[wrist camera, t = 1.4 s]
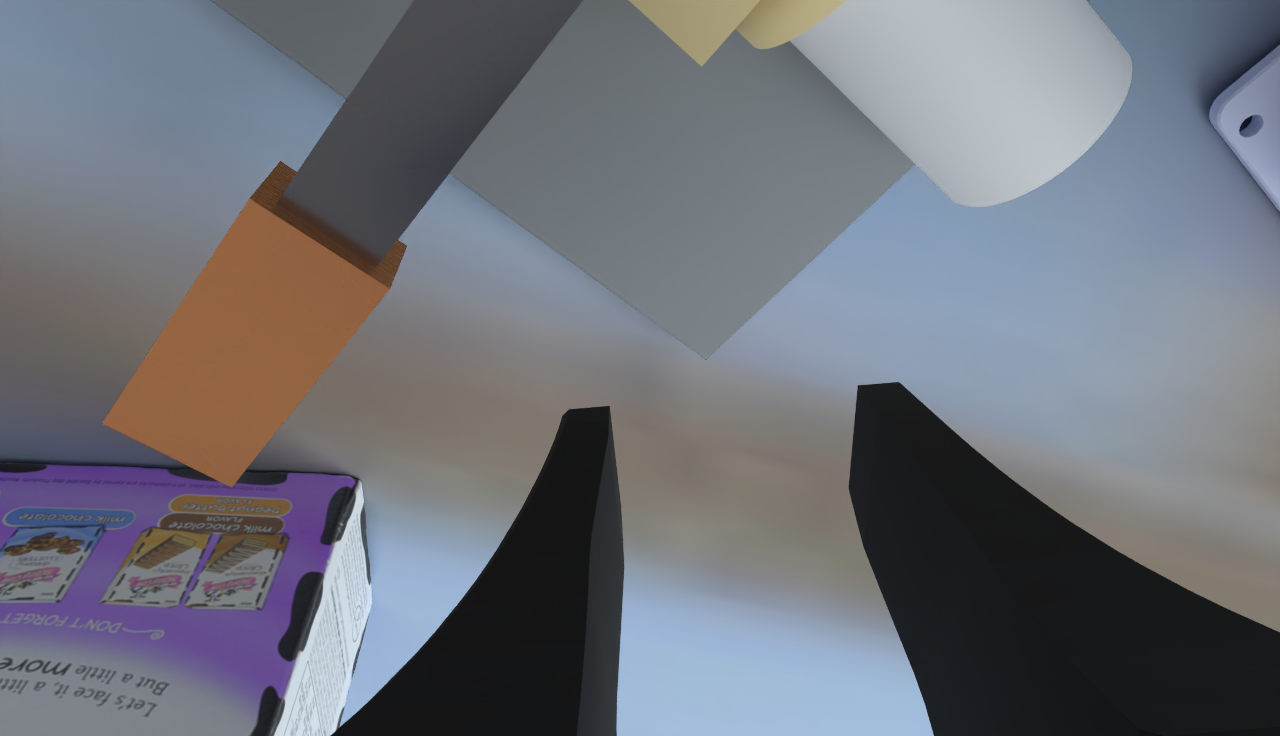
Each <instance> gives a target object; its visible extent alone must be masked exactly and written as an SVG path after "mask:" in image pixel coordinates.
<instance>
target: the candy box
mask: <svg viewBox="0 0 1280 736" xmlns="http://www.w3.org/2000/svg"><path fill="white" fill-rule="evenodd" d="M371 606H372V593H371V577H370V564H369V557H368V548H367V537H366V518H365V509H364V498H363V491H362V482H361V481H360V480H357V479H353V478H352V477H350V476H345V475H328V474H316V473H284V472H272V473H253V472H244V473H243V474H242V475H241V477H240V478H239V479H238V480H237V482H236V483H235V484H234V485H233V487H230V486H228V485H226V484H223V483H221V482H219V481H217V480H215V479H213V478H211V477H209V476H207V475H205V474H203V473H201V472H199V471H197V470H195V469H159V468H140V467H117V466H68V465H48V464H28V463H0V736H330V735H332V734H333V733H334V732H335V731H336V730H337V729H338V728H339V726H340V722H341V717H342V714H343V711H344V707H345V703H346V700H347V696H348V692H349V688H350V684H351V680H352V677H353V673H354V670H355V667H356V663H357V659H358V655H359V652H360V648H361V644H362V640H363V636H364V633H365V629H366V625H367V621H368V617H369V614H370V610H371Z"/></svg>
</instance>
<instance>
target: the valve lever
mask: <svg viewBox="0 0 1280 736" xmlns="http://www.w3.org/2000/svg"><path fill="white" fill-rule="evenodd" d="M582 1H583V0H414V1H413V2H412V3H411V5H410V6H409V8H408V9H407V11H406V12H405V14H404V15H403V17H402V18H401V20H400V21H399V23H398V24H397V26H396V27H395V29H394V30H393V32H392V33H391V35H390V36H389V37H388V39H387V40H386V42H385V43H384V45H383V46H382V48H381V49H380V51H379V52H378V54H377V55H376V57H375V58H374V60H373V61H372V63H371V64H370V66H369V67H368V69H367V70H366V71H365V73H364V74H363V76H362V77H361V79H360V80H359V82H358V83H357V85H356V86H355V88H354V89H353V91H352V92H351V94H350V95H349V97H348V98H347V100H346V101H345V103H344V104H343V105H342V107H341V108H340V110H339V111H338V113H337V114H336V116H335V117H334V119H333V120H332V122H331V123H330V125H329V126H328V128H327V129H326V131H325V132H324V134H323V135H322V137H321V138H320V139H319V141H318V142H317V144H316V145H315V147H314V148H313V150H312V151H311V153H310V154H309V156H308V157H307V159H306V160H305V162H304V163H303V165H302V166H301V168H300V169H299V171H298V172H296V171H294V170H293V169H291V168H290V167H288V166H287V165H285V164H284V163H282V162H281V161H280V162H279V163H278V165H277V166H276V167H275V168H274V170H273V171H272V172H271V173H270V174H269V176H268V177H267V178H266V179H265V181H264V182H263V183H262V184H261V185H260V187H259V188H258V189H257V190H256V192H255V193H254V194H253V195H252V196H251V198H250V199H249V200H248V202H247V203H246V205H245V207H244V208H243V210H242V211H241V213H240V214H239V216H238V217H237V219H236V220H235V222H234V223H233V225H232V226H231V228H230V229H229V231H228V232H227V234H226V235H225V237H224V238H223V240H222V242H221V243H220V245H219V246H218V248H217V249H216V251H215V252H214V254H213V255H212V257H211V258H210V260H209V261H208V263H207V264H206V266H205V267H204V269H203V270H202V272H201V273H200V275H199V277H198V278H197V280H196V281H195V283H194V284H193V286H192V287H191V289H190V290H189V292H188V293H187V295H186V296H185V298H184V299H183V301H182V302H181V304H180V305H179V307H178V308H177V310H176V312H175V313H174V315H173V316H172V318H171V319H170V321H169V322H168V324H167V325H166V327H165V328H164V330H163V331H162V333H161V334H160V336H159V337H158V339H157V340H156V342H155V343H154V345H153V347H152V348H151V350H150V351H149V353H148V354H147V356H146V357H145V359H144V360H143V362H142V363H141V365H140V366H139V368H138V369H137V371H136V372H135V374H134V375H133V377H132V378H131V380H130V382H129V383H128V385H127V386H126V388H125V389H124V391H123V392H122V394H121V395H120V397H119V398H118V400H117V401H116V403H115V404H114V406H113V407H112V409H111V410H110V412H109V413H108V415H107V417H106V418H105V420H104V421H103V423H102V424H104V425H106V426H108V427H110V428H112V429H114V430H116V431H118V432H121V433H123V434H125V435H127V436H129V437H131V438H133V439H135V440H137V441H139V442H141V443H143V444H145V445H147V446H149V447H151V448H153V449H155V450H157V451H159V452H161V453H163V454H165V455H167V456H169V457H171V458H173V459H175V460H177V461H179V462H181V463H183V464H185V465H187V466H189V467H191V468H193V469H195V470H197V471H199V472H201V473H203V474H205V475H207V476H209V477H211V478H213V479H215V480H217V481H219V482H221V483H223V484H226V485H228V486H230V487H233V485H234V484H235V483H236V482H237V480H238V479H239V478H240V477H241V475H242V474H243V473H244V472H245V470H246V469H247V468H248V467H249V465H250V464H251V463H252V461H253V460H254V459H255V458H256V456H257V455H258V454H259V453H260V451H261V450H262V449H263V448H264V446H265V445H266V444H267V443H268V441H269V440H270V439H271V438H272V436H273V435H274V434H275V433H276V431H277V430H278V429H279V428H280V426H281V425H282V424H283V423H284V421H285V420H286V419H287V417H288V416H289V415H290V414H291V412H292V411H293V410H294V409H295V407H296V406H297V405H298V404H299V402H300V401H301V400H302V399H303V397H304V396H305V395H306V394H307V392H308V391H309V390H310V389H311V387H312V386H313V385H314V384H315V382H316V381H317V380H318V379H319V377H320V376H321V375H322V373H323V372H324V371H325V370H326V368H327V367H328V366H329V365H330V363H331V362H332V361H333V360H334V358H335V357H336V356H337V355H338V353H339V352H340V351H341V350H342V348H343V347H344V346H345V345H346V343H347V342H348V341H349V340H350V338H351V337H352V336H353V334H354V333H355V332H356V331H357V329H358V328H359V327H360V326H361V324H362V323H363V322H364V321H365V319H366V318H367V317H368V316H369V314H370V313H371V312H372V311H373V309H374V308H375V307H376V306H377V304H378V303H379V302H380V301H381V299H382V298H383V297H384V296H385V294H386V293H387V292H388V290H389V289H390V287H391V285H392V282H393V280H394V277H395V275H396V272H397V270H398V267H399V265H400V262H401V260H402V257H403V255H404V252H405V250H406V247H407V246H406V245H405V244H403V243H402V242H400V241H399V240H398V239H399V237H400V236H401V235H402V234H403V232H404V231H405V230H406V228H407V227H408V226H409V225H410V223H411V222H412V221H413V219H414V218H415V217H416V216H417V214H418V213H419V212H420V210H421V209H422V208H423V206H424V205H425V204H426V203H427V201H428V200H429V199H430V197H431V196H432V195H433V194H434V192H435V191H436V190H437V188H438V187H439V186H440V185H441V183H442V182H443V181H444V179H445V178H446V177H447V175H448V174H449V173H450V172H451V170H452V169H453V168H454V166H455V165H456V164H457V163H458V161H459V160H460V159H461V157H462V156H463V155H464V154H465V152H466V151H467V150H468V148H469V147H470V146H471V144H472V143H473V142H474V141H475V139H476V138H477V137H478V135H479V134H480V133H481V132H482V130H483V129H484V128H485V126H486V125H487V124H488V123H489V121H490V120H491V119H492V117H493V116H494V115H495V113H496V112H497V111H498V110H499V108H500V107H501V106H502V104H503V103H504V102H505V101H506V99H507V98H508V97H509V95H510V94H511V93H512V92H513V90H514V89H515V88H516V86H517V85H518V84H519V83H520V81H521V80H522V79H523V77H524V76H525V75H526V73H527V72H528V71H529V70H530V68H531V67H532V66H533V64H534V63H535V62H536V61H537V59H538V58H539V57H540V55H541V54H542V53H543V52H544V50H545V49H546V48H547V46H548V45H549V44H550V42H551V41H552V40H553V39H554V37H555V36H556V35H557V33H558V32H559V31H560V30H561V28H562V27H563V26H564V24H565V23H566V22H567V21H568V19H569V18H570V17H571V15H572V14H573V13H574V11H575V10H576V9H577V8H578V6H579V5H580V4H581V2H582Z"/></svg>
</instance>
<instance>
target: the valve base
mask: <svg viewBox="0 0 1280 736" xmlns="http://www.w3.org/2000/svg"><path fill="white" fill-rule="evenodd" d="M211 1H212V2H213V3H215V4H216V5H218V6H219V7H220V8H222V9H223V10H224V11H226V12H227V13H229V14H230V15H231V16H233V17H234V18H235V19H237V20H238V21H240V22H241V23H242V24H244V25H245V26H246V27H248V28H249V29H251V30H252V31H253V32H255V33H256V34H257V35H259V36H260V37H262V38H263V39H264V40H266V41H267V42H268V43H270V44H271V45H273V46H274V47H275V48H277V49H278V50H280V51H281V52H282V53H284V54H285V55H286V56H288V57H289V58H291V59H292V60H293V61H295V62H296V63H297V64H299V65H300V66H302V67H303V68H304V69H306V70H307V71H308V72H310V73H311V74H313V75H314V76H315V77H317V78H318V79H319V80H321V81H322V82H324V83H325V84H326V85H328V86H329V87H330V88H332V89H333V90H335V91H336V92H337V93H339V94H340V95H341V96H343V97H344V98H346V99H347V98H348V97H349V95H350V94H351V92H352V91H353V89H354V88H355V86H356V85H357V83H358V82H359V80H360V79H361V77H362V76H363V74H364V73H365V71H366V70H367V69H368V67H369V66H370V64H371V63H372V61H373V60H374V58H375V57H376V55H377V54H378V52H379V51H380V49H381V48H382V46H383V45H384V43H385V42H386V40H387V39H388V37H389V36H390V35H391V33H392V32H393V30H394V29H395V27H396V26H397V24H398V23H399V21H400V20H401V18H402V17H403V15H404V14H405V12H406V11H407V9H408V8H409V6H410V5H411V3H412V2H413V1H414V0H211ZM1089 1H1090V0H583V1H582V2H581V4H580V5H579V6H578V8H577V9H576V10H575V11H574V13H573V14H572V15H571V17H570V18H569V19H568V21H567V22H566V23H565V24H564V26H563V27H562V28H561V30H560V31H559V32H558V33H557V35H556V36H555V37H554V39H553V40H552V41H551V42H550V44H549V45H548V46H547V48H546V49H545V50H544V52H543V53H542V54H541V55H540V57H539V58H538V59H537V61H536V62H535V63H534V64H533V66H532V67H531V68H530V70H529V71H528V72H527V73H526V75H525V76H524V77H523V79H522V80H521V81H520V83H519V84H518V85H517V86H516V88H515V89H514V90H513V92H512V93H511V94H510V95H509V97H508V98H507V99H506V101H505V102H504V103H503V104H502V106H501V107H500V108H499V110H498V111H497V112H496V113H495V115H494V116H493V117H492V119H491V120H490V121H489V123H488V124H487V125H486V126H485V128H484V129H483V130H482V132H481V133H480V134H479V135H478V137H477V138H476V139H475V141H474V142H473V143H472V144H471V146H470V147H469V148H468V150H467V151H466V152H465V154H464V155H463V156H462V157H461V159H460V160H459V161H458V163H457V164H456V165H455V166H454V168H453V169H452V170H451V172H450V173H449V174H450V175H452V176H453V177H454V178H456V179H457V180H459V181H460V182H461V183H463V184H464V185H465V186H467V187H468V188H470V189H471V190H472V191H474V192H475V193H477V194H478V195H479V196H481V197H482V198H483V199H485V200H486V201H488V202H489V203H490V204H492V205H493V206H494V207H496V208H497V209H499V210H500V211H501V212H503V213H504V214H505V215H507V216H508V217H510V218H511V219H512V220H514V221H515V222H516V223H518V224H519V225H521V226H522V227H523V228H525V229H526V230H527V231H529V232H530V233H532V234H533V235H534V236H536V237H537V238H539V239H540V240H541V241H543V242H544V243H545V244H547V245H548V246H550V247H551V248H552V249H554V250H555V251H556V252H558V253H559V254H561V255H562V256H563V257H565V258H566V259H567V260H569V261H570V262H572V263H573V264H574V265H576V266H577V267H578V268H580V269H581V270H583V271H584V272H585V273H587V274H588V275H589V276H591V277H592V278H594V279H595V280H596V281H598V282H599V283H600V284H602V285H603V286H605V287H606V288H607V289H609V290H610V291H612V292H613V293H614V294H616V295H617V296H618V297H620V298H621V299H623V300H624V301H625V302H627V303H628V304H629V305H631V306H632V307H634V308H635V309H636V310H638V311H639V312H640V313H642V314H643V315H645V316H646V317H647V318H649V319H650V320H651V321H653V322H654V323H656V324H657V325H658V326H660V327H661V328H662V329H664V330H665V331H667V332H668V333H669V334H671V335H672V336H674V337H675V338H676V339H678V340H679V341H680V342H682V343H683V344H685V345H686V346H687V347H689V348H690V349H691V350H693V351H694V352H696V353H697V354H698V355H700V356H701V357H702V358H704V359H705V360H707V359H708V358H709V357H710V356H711V355H712V354H713V353H714V352H715V351H716V350H717V349H718V348H719V347H720V346H721V345H723V344H724V343H725V342H726V341H727V340H728V339H729V338H730V337H731V336H732V335H733V334H734V333H735V332H736V331H737V330H739V329H740V328H741V327H742V326H743V325H744V324H745V323H746V322H747V321H748V320H749V319H750V318H751V317H752V316H753V315H755V314H756V313H757V312H758V311H759V310H760V309H761V308H762V307H763V306H764V305H765V304H766V303H767V302H768V301H769V300H771V299H772V298H773V297H774V296H775V295H776V294H777V293H778V292H779V291H780V290H781V289H782V288H783V287H784V286H785V285H787V284H788V283H789V282H790V281H791V280H792V279H793V278H794V277H795V276H796V275H797V274H798V273H799V272H800V271H801V270H803V269H804V268H805V267H806V266H807V265H808V264H809V263H810V262H811V261H812V260H813V259H814V258H815V257H816V256H818V255H819V254H820V253H821V252H822V251H823V250H824V249H825V248H826V247H827V246H828V245H829V244H830V243H831V242H832V241H834V240H835V239H836V238H837V237H838V236H839V235H840V234H841V233H842V232H843V231H844V230H845V229H846V228H847V227H848V226H850V225H851V224H852V223H853V222H854V221H855V220H856V219H857V218H858V217H859V216H860V215H861V214H862V213H863V212H864V211H866V210H867V209H868V208H869V207H870V206H871V205H872V204H873V203H874V202H875V201H876V200H877V199H878V198H879V197H880V196H882V195H883V194H884V193H885V192H886V191H887V190H888V189H889V188H890V187H891V186H892V185H893V184H894V183H895V182H896V181H898V180H899V179H900V178H901V177H902V176H903V175H904V174H905V173H906V172H907V171H908V170H909V169H910V168H911V167H912V166H914V165H915V164H916V165H917V166H918V167H919V168H920V169H921V170H922V171H923V172H924V173H925V174H926V175H927V176H928V177H929V178H930V179H931V180H932V181H933V182H934V183H935V184H936V185H937V186H938V187H939V188H940V189H941V190H942V191H943V192H944V193H945V194H946V195H947V196H948V197H949V198H950V199H951V200H953V201H954V202H956V203H958V204H960V205H964V206H967V207H986V206H991V205H996V204H1000V203H1003V202H1007V201H1010V200H1012V199H1015V198H1017V197H1020V196H1022V195H1024V194H1026V193H1028V192H1030V191H1032V190H1034V189H1036V188H1038V187H1039V186H1041V185H1043V184H1044V183H1046V182H1048V181H1049V180H1051V179H1052V178H1054V177H1055V176H1057V175H1058V174H1059V173H1061V172H1062V171H1064V170H1065V169H1066V168H1067V167H1069V166H1070V165H1071V164H1072V163H1074V162H1075V161H1076V160H1077V159H1078V158H1079V157H1080V156H1081V155H1083V154H1084V153H1085V152H1086V151H1087V150H1088V149H1089V148H1090V147H1091V146H1092V145H1093V144H1094V143H1095V142H1096V141H1097V140H1098V138H1099V137H1100V136H1101V135H1102V134H1103V132H1104V131H1105V130H1106V129H1107V128H1108V126H1109V125H1110V123H1111V122H1112V121H1113V119H1114V118H1115V116H1116V115H1117V113H1118V111H1119V110H1120V108H1121V106H1122V104H1123V103H1124V100H1125V98H1126V96H1127V93H1128V91H1129V88H1130V84H1131V81H1132V72H1133V67H1132V60H1131V58H1130V55H1129V53H1128V52H1127V51H1126V50H1125V48H1124V47H1123V46H1122V44H1121V43H1120V42H1119V41H1118V39H1117V38H1116V37H1115V36H1114V34H1113V33H1112V32H1111V31H1110V29H1109V28H1108V27H1107V26H1106V24H1105V23H1104V22H1103V21H1102V19H1101V18H1100V17H1099V16H1098V14H1097V13H1096V12H1095V10H1094V9H1093V8H1092V7H1091V5H1090V4H1089V3H1088V2H1089Z"/></svg>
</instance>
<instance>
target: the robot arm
mask: <svg viewBox="0 0 1280 736" xmlns="http://www.w3.org/2000/svg"><path fill="white" fill-rule="evenodd" d="M1250 116H1253V117H1252V120H1251V123H1250V124H1249V125H1248V126H1247V127H1246V128H1245V129H1243V130H1241V131H1239V129H1240V126H1241V124H1242V122H1243V121H1244V120H1245V119H1246V118H1248V117H1250ZM1209 119H1210V121H1211V124H1212V125H1213V126H1214V128H1215V129H1216V130H1217V131H1218V133H1219V134H1220V135H1221V137H1222V138H1223V139H1224V141H1225V142H1226V143H1227V144H1228V146H1229V147H1230V148H1231V150H1232V151H1233V152H1234V153H1235V155H1236V156H1237V157H1238V159H1239V160H1240V161H1241V162H1242V164H1243V165H1244V166H1245V168H1246V169H1247V170H1248V172H1249V173H1250V174H1251V175H1252V177H1253V178H1254V179H1255V181H1256V182H1257V183H1258V184H1259V186H1260V187H1261V188H1262V190H1263V191H1264V192H1265V193H1266V195H1267V196H1268V197H1269V199H1270V200H1271V201H1272V203H1273V204H1274V205H1275V206H1276V208H1277V209H1278V210H1279V212H1280V45H1279V46H1278V47H1276V48H1275V49H1274V50H1273V51H1272V52H1270V53H1269V54H1268V55H1267V56H1266V57H1264V58H1263V59H1262V60H1261V61H1259V62H1258V63H1257V64H1256V65H1255V66H1253V67H1252V68H1251V69H1250V70H1249V71H1247V72H1246V73H1245V74H1244V75H1243V76H1241V77H1240V78H1239V79H1238V80H1237V81H1235V82H1234V83H1233V84H1232V85H1230V86H1229V87H1228V88H1227V89H1226V90H1224V91H1223V92H1222V93H1221V94H1220V95H1219V96H1218V97H1217V98H1216V99H1215V100H1214V102H1213V104H1212V106H1211V108H1210V113H1209ZM849 491H850V495H851V500H852V504H853V508H854V512H855V516H856V520H857V524H858V528H859V531H860V535H861V539H862V542H863V546H864V549H865V552H866V554H867V557H868V559H869V562H870V565H871V567H872V570H873V572H874V575H875V577H876V580H877V582H878V585H879V587H880V590H881V592H882V595H883V597H884V600H885V602H886V605H887V607H888V610H889V612H890V615H891V617H892V620H893V622H894V625H895V627H896V630H897V632H898V635H899V637H900V640H901V642H902V644H903V647H904V649H905V652H906V654H907V657H908V659H909V662H910V664H911V667H912V669H913V672H914V674H915V677H916V680H917V683H918V686H919V688H920V691H921V694H922V697H923V700H924V703H925V706H926V709H927V713H928V716H929V720H930V723H931V727H932V730H933V734H934V736H1280V632H1277V631H1275V630H1273V629H1271V628H1268V627H1266V626H1264V625H1262V624H1260V623H1257V622H1255V621H1253V620H1251V619H1249V618H1246V617H1244V616H1242V615H1240V614H1237V613H1235V612H1233V611H1231V610H1229V609H1226V608H1224V607H1222V606H1220V605H1218V604H1216V603H1214V602H1212V601H1210V600H1208V599H1206V598H1204V597H1202V596H1200V595H1197V594H1195V593H1193V592H1191V591H1189V590H1187V589H1185V588H1184V587H1182V586H1180V585H1178V584H1176V583H1174V582H1172V581H1171V580H1169V579H1167V578H1165V577H1163V576H1161V575H1159V574H1157V573H1156V572H1154V571H1152V570H1150V569H1148V568H1146V567H1144V566H1143V565H1141V564H1139V563H1137V562H1135V561H1134V560H1132V559H1130V558H1128V557H1127V556H1125V555H1123V554H1122V553H1120V552H1118V551H1116V550H1115V549H1113V548H1111V547H1110V546H1108V545H1107V544H1105V543H1103V542H1102V541H1100V540H1099V539H1097V538H1096V537H1094V536H1092V535H1091V534H1089V533H1088V532H1086V531H1084V530H1083V529H1081V528H1080V527H1078V526H1076V525H1075V524H1073V523H1072V522H1070V521H1069V520H1067V519H1066V518H1064V517H1063V516H1061V515H1060V514H1058V513H1057V512H1056V511H1054V510H1053V509H1051V508H1050V507H1048V506H1047V505H1046V504H1044V503H1043V502H1042V501H1040V500H1039V499H1038V498H1036V497H1035V496H1033V495H1032V494H1031V493H1029V492H1028V491H1027V490H1025V489H1024V488H1023V487H1021V486H1020V485H1018V484H1017V483H1016V482H1015V481H1013V480H1012V479H1011V478H1009V477H1008V476H1007V475H1006V474H1004V473H1003V472H1002V471H1000V470H999V469H998V468H997V467H995V466H994V465H993V464H992V463H991V462H989V461H988V460H987V459H986V458H985V457H983V456H982V455H981V454H980V453H978V452H977V451H976V450H975V449H974V448H972V447H971V446H970V445H969V444H968V443H967V442H965V441H964V440H963V439H962V438H961V437H960V436H959V435H957V434H956V433H955V432H954V431H953V430H952V429H951V428H950V427H948V426H947V425H946V424H945V423H944V422H943V421H942V420H941V419H939V418H938V417H937V416H936V415H935V414H934V413H933V412H932V411H931V410H929V409H928V408H927V407H926V406H925V405H924V404H923V403H922V402H921V401H919V400H918V399H917V398H916V397H915V396H914V395H913V394H912V393H911V392H909V391H908V390H907V389H906V388H905V387H904V386H903V385H902V384H900V383H899V382H895V383H883V384H871V385H858V390H857V401H856V412H855V423H854V434H853V445H852V457H851V468H850V479H849ZM623 579H624V553H623V534H622V516H621V502H620V493H619V485H618V476H617V467H616V458H615V450H614V441H613V432H612V423H611V414H610V406H604V407H592V408H580V409H569V410H568V411H567V412H566V413H565V414H564V415H563V416H562V419H561V423H560V426H559V429H558V432H557V434H556V437H555V440H554V442H553V445H552V447H551V450H550V452H549V454H548V456H547V459H546V461H545V463H544V465H543V468H542V470H541V472H540V474H539V476H538V478H537V480H536V482H535V484H534V486H533V487H532V489H531V491H530V493H529V495H528V497H527V499H526V501H525V503H524V505H523V507H522V509H521V510H520V512H519V514H518V516H517V517H516V519H515V521H514V522H513V524H512V526H511V527H510V529H509V530H508V532H507V534H506V535H505V537H504V539H503V540H502V542H501V544H500V545H499V547H498V549H497V550H496V552H495V553H494V555H493V556H492V558H491V559H490V561H489V562H488V564H487V565H486V567H485V568H484V570H483V571H482V572H481V574H480V575H479V577H478V578H477V579H476V581H475V582H474V584H473V585H472V586H471V588H470V589H469V590H468V592H467V593H466V594H465V596H464V597H463V598H462V600H461V601H460V602H459V603H458V605H457V606H456V607H455V608H454V610H453V611H452V612H451V613H450V614H449V616H448V617H447V618H446V619H445V620H444V622H443V623H442V624H441V625H440V627H439V628H438V629H437V630H436V631H435V633H434V634H433V635H432V636H431V637H430V638H429V640H428V641H427V642H426V643H425V644H424V645H423V646H422V647H421V649H420V650H419V651H418V652H417V653H416V654H415V655H414V656H413V657H412V658H411V659H410V660H409V661H408V662H407V663H406V664H405V665H404V666H403V667H402V668H401V669H400V670H399V671H398V672H397V673H396V674H395V675H394V676H393V677H392V678H391V679H390V681H389V682H388V683H387V684H386V685H385V686H384V687H383V688H382V689H381V690H380V691H379V692H378V693H377V694H376V695H375V696H374V697H373V698H372V699H371V700H370V701H369V702H368V703H367V704H365V705H364V706H363V707H362V708H361V709H360V710H359V711H358V712H357V713H356V714H355V715H353V716H352V717H351V718H350V719H349V720H348V721H347V722H345V723H344V724H343V725H342V726H341V727H340V728H338V729H337V730H336V731H335V732H334V733H333V734H332V735H330V736H617V733H616V719H617V686H618V669H619V651H620V634H621V616H622V598H623Z"/></svg>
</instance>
